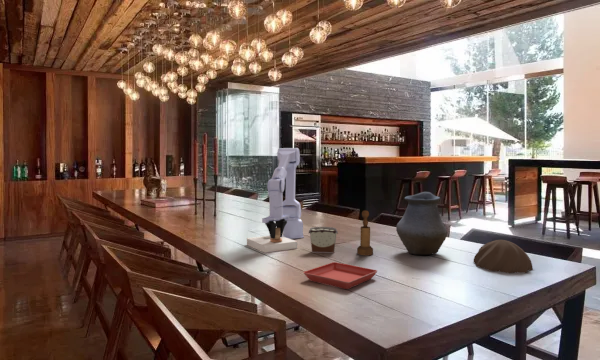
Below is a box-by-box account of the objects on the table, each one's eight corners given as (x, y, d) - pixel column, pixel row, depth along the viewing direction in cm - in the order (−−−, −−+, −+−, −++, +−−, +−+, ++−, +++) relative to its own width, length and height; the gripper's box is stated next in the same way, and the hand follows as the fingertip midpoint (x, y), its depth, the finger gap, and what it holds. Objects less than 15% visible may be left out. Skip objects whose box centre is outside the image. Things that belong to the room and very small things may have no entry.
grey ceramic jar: (389, 255, 174) (390, 194, 172) (403, 245, 193) (404, 190, 191) (442, 261, 164) (443, 196, 162) (451, 250, 183) (452, 192, 182)
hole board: (278, 240, 203) (278, 234, 202) (297, 248, 187) (297, 241, 187) (246, 244, 194) (246, 238, 194) (264, 252, 179) (264, 245, 179)
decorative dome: (502, 276, 145) (503, 247, 145) (462, 262, 164) (462, 236, 163) (545, 270, 152) (546, 243, 151) (501, 257, 171) (502, 233, 170)
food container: (338, 249, 185) (338, 226, 184) (337, 252, 178) (337, 229, 178) (309, 249, 186) (309, 226, 185) (308, 252, 180) (308, 228, 179)
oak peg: (276, 244, 190) (276, 226, 190) (284, 246, 187) (284, 228, 186) (267, 246, 187) (267, 228, 186) (276, 248, 183) (275, 229, 183)
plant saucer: (333, 270, 154) (333, 261, 154) (378, 279, 142) (378, 269, 142) (302, 282, 140) (302, 272, 140) (348, 293, 129) (348, 282, 128)
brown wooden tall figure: (372, 255, 173) (373, 211, 172) (356, 255, 174) (356, 211, 173) (373, 252, 180) (373, 209, 178) (357, 251, 181) (358, 209, 180)
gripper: (281, 204, 194) (281, 233, 195) (257, 207, 183) (257, 238, 184) (292, 205, 189) (292, 236, 190) (268, 208, 178) (268, 240, 179)
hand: (276, 237), depth 187 cm, fingers closed on oak peg, 4 cm apart
